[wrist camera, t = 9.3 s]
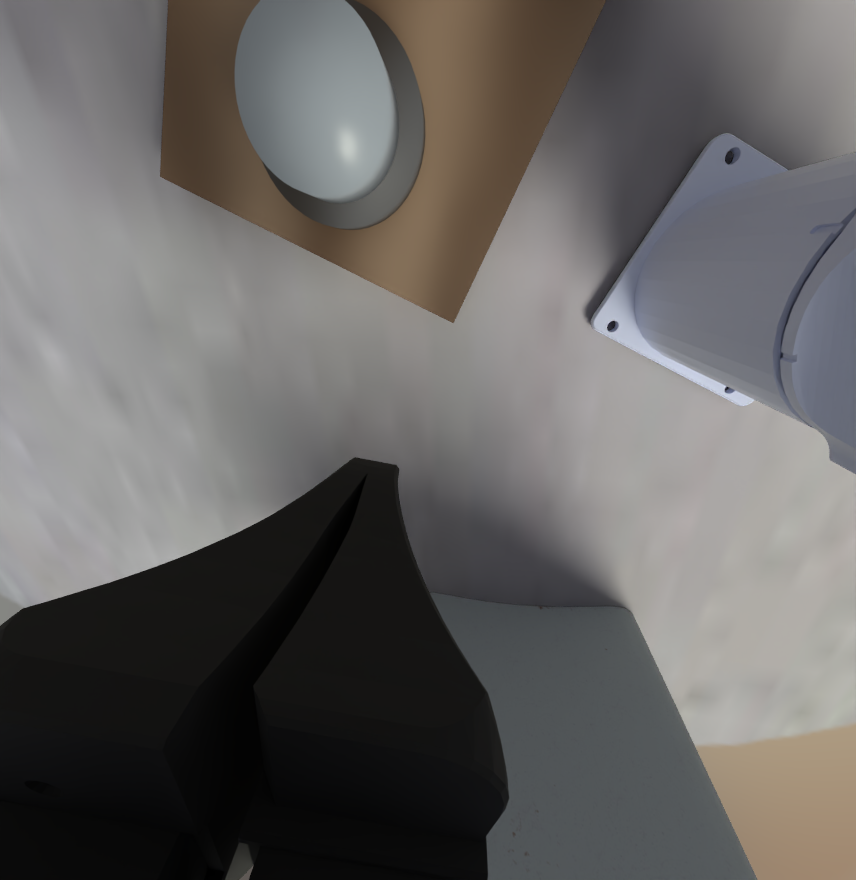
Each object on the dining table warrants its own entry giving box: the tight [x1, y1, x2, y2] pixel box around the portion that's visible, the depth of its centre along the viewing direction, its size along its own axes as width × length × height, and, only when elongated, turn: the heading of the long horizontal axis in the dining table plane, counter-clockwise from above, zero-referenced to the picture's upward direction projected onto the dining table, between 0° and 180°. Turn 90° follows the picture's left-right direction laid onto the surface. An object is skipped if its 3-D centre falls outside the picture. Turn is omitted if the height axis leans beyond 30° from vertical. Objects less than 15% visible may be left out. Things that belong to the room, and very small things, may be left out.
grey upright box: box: [429, 592, 757, 880], centre depth 17 cm, size 17×5×25 cm, turn 91°
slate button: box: [235, 0, 399, 204], centre depth 11 cm, size 5×5×2 cm
